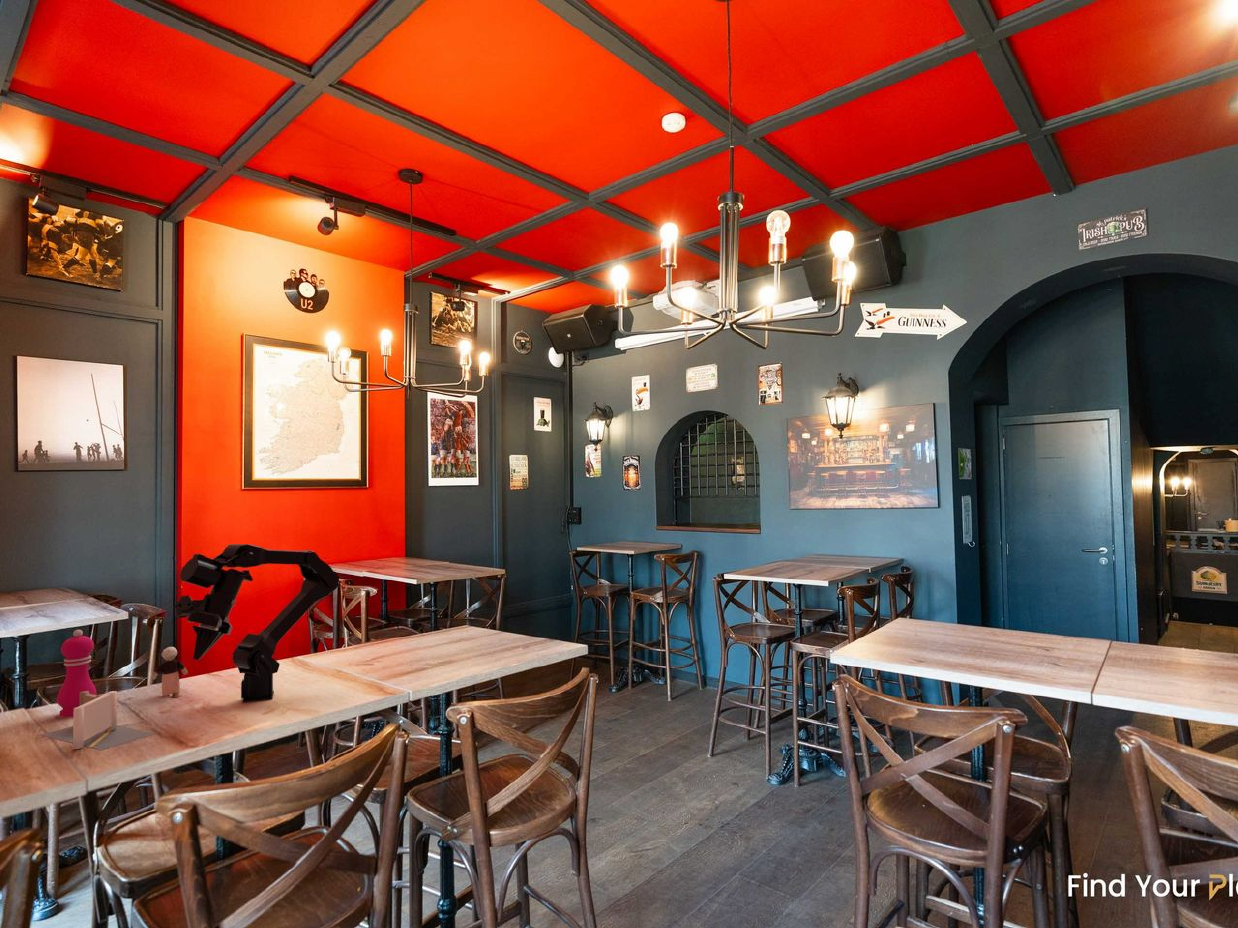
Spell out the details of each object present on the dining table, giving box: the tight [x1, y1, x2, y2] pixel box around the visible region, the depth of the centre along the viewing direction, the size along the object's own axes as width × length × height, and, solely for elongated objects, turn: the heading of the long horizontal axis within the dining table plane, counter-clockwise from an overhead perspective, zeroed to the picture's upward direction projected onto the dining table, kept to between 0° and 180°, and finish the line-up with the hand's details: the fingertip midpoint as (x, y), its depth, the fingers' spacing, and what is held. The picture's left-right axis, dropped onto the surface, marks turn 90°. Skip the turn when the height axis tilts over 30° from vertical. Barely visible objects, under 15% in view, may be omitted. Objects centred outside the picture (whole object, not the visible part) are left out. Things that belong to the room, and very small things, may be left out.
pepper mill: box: [56, 629, 97, 718], centre depth 157 cm, size 7×7×20 cm
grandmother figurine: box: [151, 646, 188, 699], centre depth 171 cm, size 8×4×13 cm, turn 149°
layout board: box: [41, 691, 155, 751], centre depth 141 cm, size 23×10×8 cm, turn 64°
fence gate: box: [72, 690, 118, 750], centre depth 139 cm, size 12×2×8 cm, turn 8°
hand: (195, 659), depth 155 cm, fingers closed
